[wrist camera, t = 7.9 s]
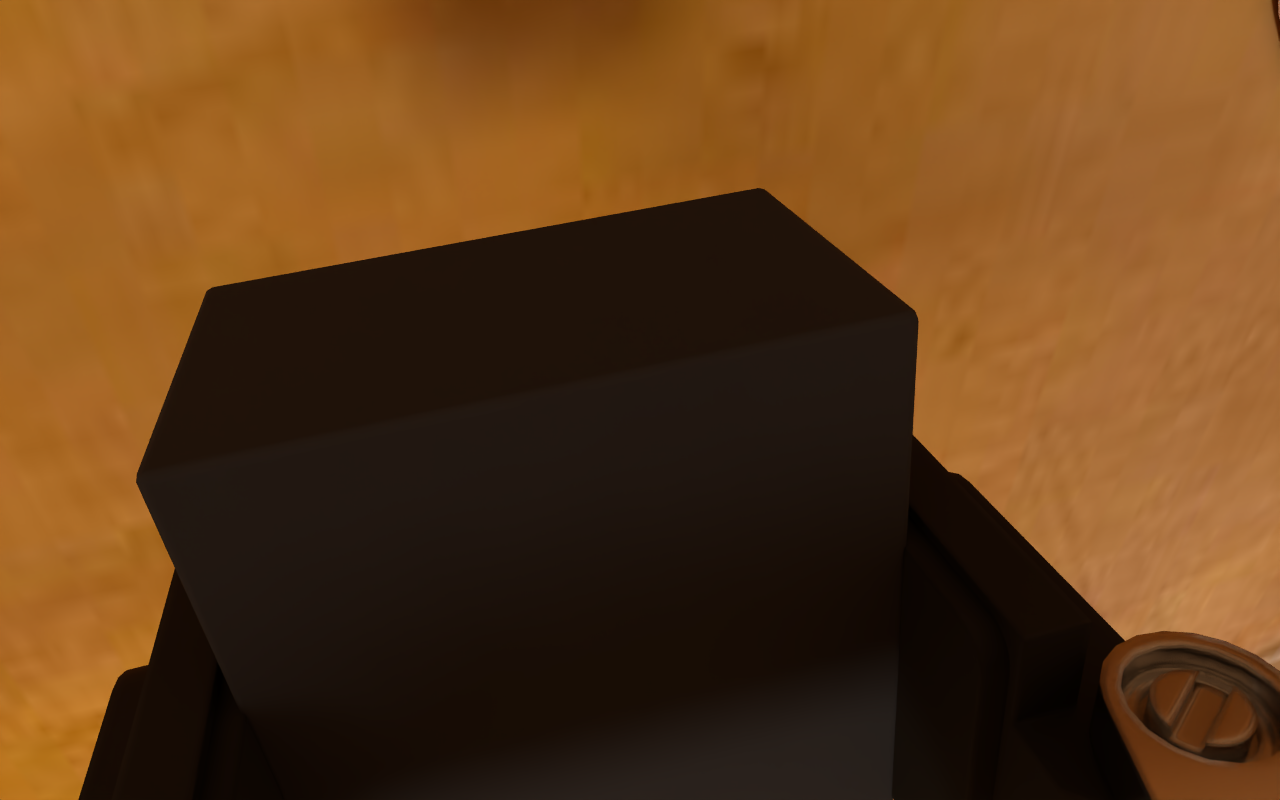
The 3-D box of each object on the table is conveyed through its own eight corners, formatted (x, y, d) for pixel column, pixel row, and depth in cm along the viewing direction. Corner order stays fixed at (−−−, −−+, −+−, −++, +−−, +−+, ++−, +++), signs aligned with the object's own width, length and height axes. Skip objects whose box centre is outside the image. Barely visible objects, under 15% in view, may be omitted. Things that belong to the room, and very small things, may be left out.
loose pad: (763, 184, 9) (924, 312, 6) (782, 706, 12) (889, 923, 10) (205, 285, 8) (127, 479, 5) (395, 813, 12) (402, 1079, 9)
